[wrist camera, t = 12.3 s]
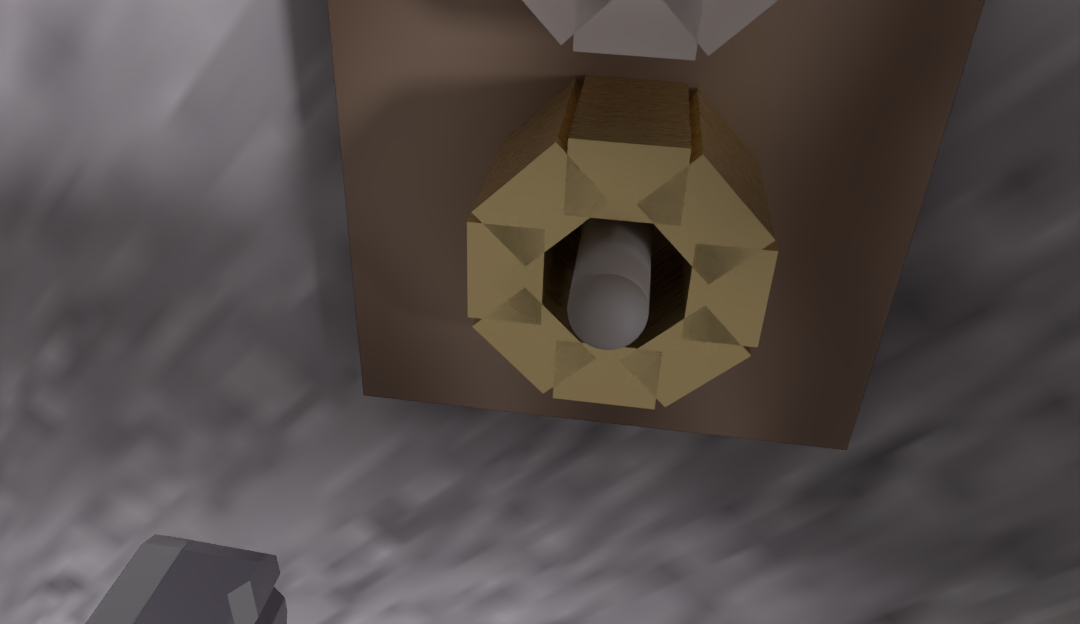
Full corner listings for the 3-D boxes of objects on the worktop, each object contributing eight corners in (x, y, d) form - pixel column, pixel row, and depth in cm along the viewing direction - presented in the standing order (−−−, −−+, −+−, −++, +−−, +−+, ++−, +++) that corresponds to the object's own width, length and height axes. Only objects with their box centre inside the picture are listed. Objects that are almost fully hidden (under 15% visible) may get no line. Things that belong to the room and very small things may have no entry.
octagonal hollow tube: (775, 89, 19) (798, 157, 16) (731, 321, 22) (742, 419, 19) (501, 68, 20) (466, 129, 16) (498, 298, 23) (467, 388, 20)
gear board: (1102, -493, 15) (1411, -680, 9) (838, 416, 25) (890, 621, 19) (309, -507, 16) (82, -680, 10) (378, 365, 27) (290, 543, 21)
